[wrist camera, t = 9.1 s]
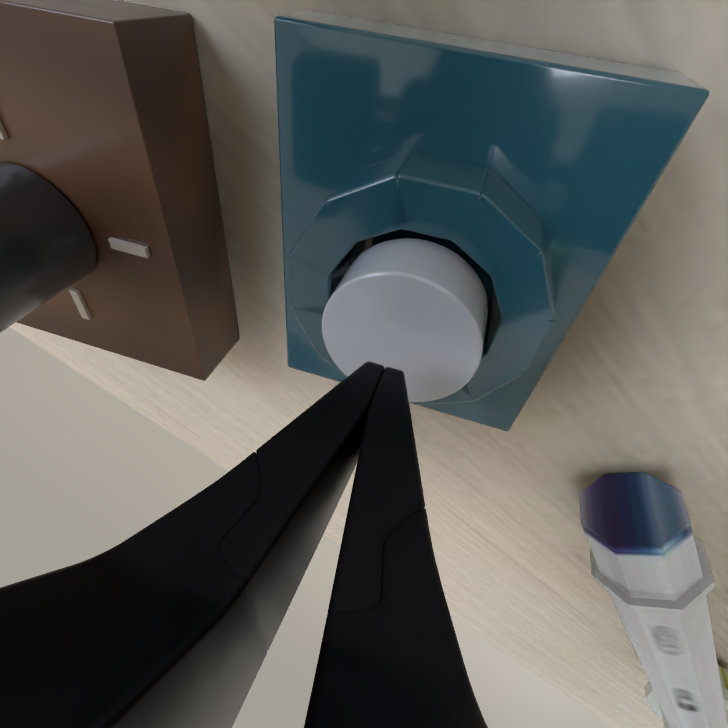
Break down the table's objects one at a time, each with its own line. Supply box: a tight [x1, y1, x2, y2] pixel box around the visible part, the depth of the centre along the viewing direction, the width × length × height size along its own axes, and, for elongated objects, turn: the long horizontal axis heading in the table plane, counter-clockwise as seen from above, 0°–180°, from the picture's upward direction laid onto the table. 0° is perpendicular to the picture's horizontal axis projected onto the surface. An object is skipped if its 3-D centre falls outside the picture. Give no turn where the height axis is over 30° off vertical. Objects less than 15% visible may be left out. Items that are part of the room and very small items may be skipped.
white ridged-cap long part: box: [579, 472, 728, 728], centre depth 22 cm, size 5×7×25 cm
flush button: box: [322, 238, 488, 402], centre depth 11 cm, size 4×4×2 cm
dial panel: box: [0, 0, 239, 381], centre depth 15 cm, size 12×10×3 cm
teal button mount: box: [274, 11, 709, 431], centre depth 12 cm, size 11×9×4 cm
